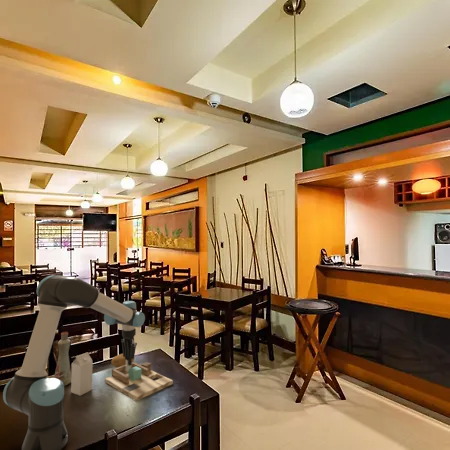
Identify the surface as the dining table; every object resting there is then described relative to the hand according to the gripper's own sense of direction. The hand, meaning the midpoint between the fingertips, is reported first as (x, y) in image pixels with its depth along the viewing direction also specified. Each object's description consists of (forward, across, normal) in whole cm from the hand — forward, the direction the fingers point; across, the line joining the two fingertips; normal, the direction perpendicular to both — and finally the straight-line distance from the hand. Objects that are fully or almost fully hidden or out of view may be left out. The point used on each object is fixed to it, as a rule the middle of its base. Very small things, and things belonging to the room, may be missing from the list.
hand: (128, 370), depth 173 cm
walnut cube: (+2, -4, -9) cm, 10 cm away
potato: (+5, +15, -6) cm, 17 cm away
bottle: (+4, +21, +27) cm, 35 cm away
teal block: (+2, -7, 0) cm, 7 cm away
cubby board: (+4, -10, 0) cm, 11 cm away
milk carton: (+4, +5, +24) cm, 25 cm away
